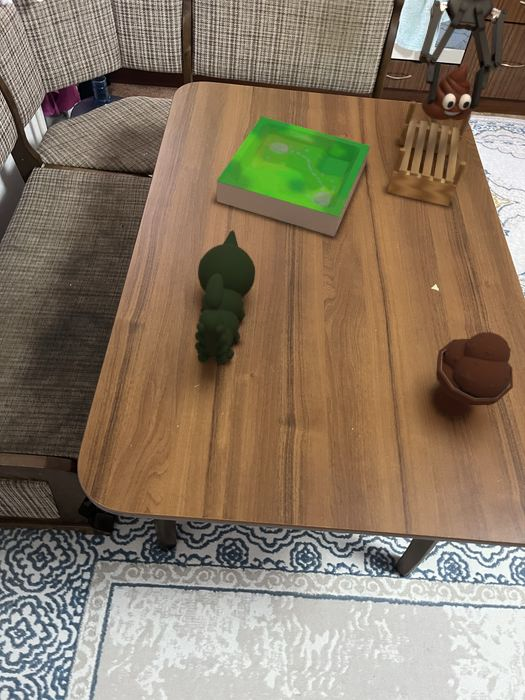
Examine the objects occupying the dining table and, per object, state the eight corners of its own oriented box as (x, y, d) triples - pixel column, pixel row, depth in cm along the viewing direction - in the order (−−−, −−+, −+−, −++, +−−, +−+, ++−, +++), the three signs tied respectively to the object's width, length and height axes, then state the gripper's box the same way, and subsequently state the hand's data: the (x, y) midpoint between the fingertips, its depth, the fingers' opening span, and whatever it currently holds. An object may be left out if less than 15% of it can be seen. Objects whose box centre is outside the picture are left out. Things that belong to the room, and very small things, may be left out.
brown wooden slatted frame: (455, 153, 123) (471, 112, 115) (448, 206, 112) (466, 165, 104) (398, 140, 125) (411, 99, 117) (386, 192, 113) (399, 151, 105)
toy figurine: (242, 386, 85) (257, 264, 98) (244, 321, 69) (263, 185, 81) (183, 379, 85) (207, 259, 98) (172, 313, 69) (202, 178, 81)
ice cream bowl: (410, 374, 87) (441, 316, 74) (475, 372, 88) (516, 314, 75) (426, 433, 80) (462, 380, 68) (496, 430, 82) (545, 378, 69)
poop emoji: (463, 101, 109) (481, 54, 102) (475, 125, 104) (495, 78, 97) (416, 100, 108) (430, 52, 101) (426, 124, 104) (442, 76, 96)
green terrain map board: (216, 201, 108) (216, 180, 104) (260, 136, 122) (261, 116, 118) (334, 236, 104) (338, 216, 100) (364, 165, 118) (370, 145, 114)
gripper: (521, -11, 101) (497, 116, 105) (414, -23, 102) (394, 103, 105) (540, -32, 94) (514, 105, 98) (425, -45, 94) (403, 92, 98)
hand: (452, 104), depth 102 cm, fingers closed on poop emoji, 8 cm apart
